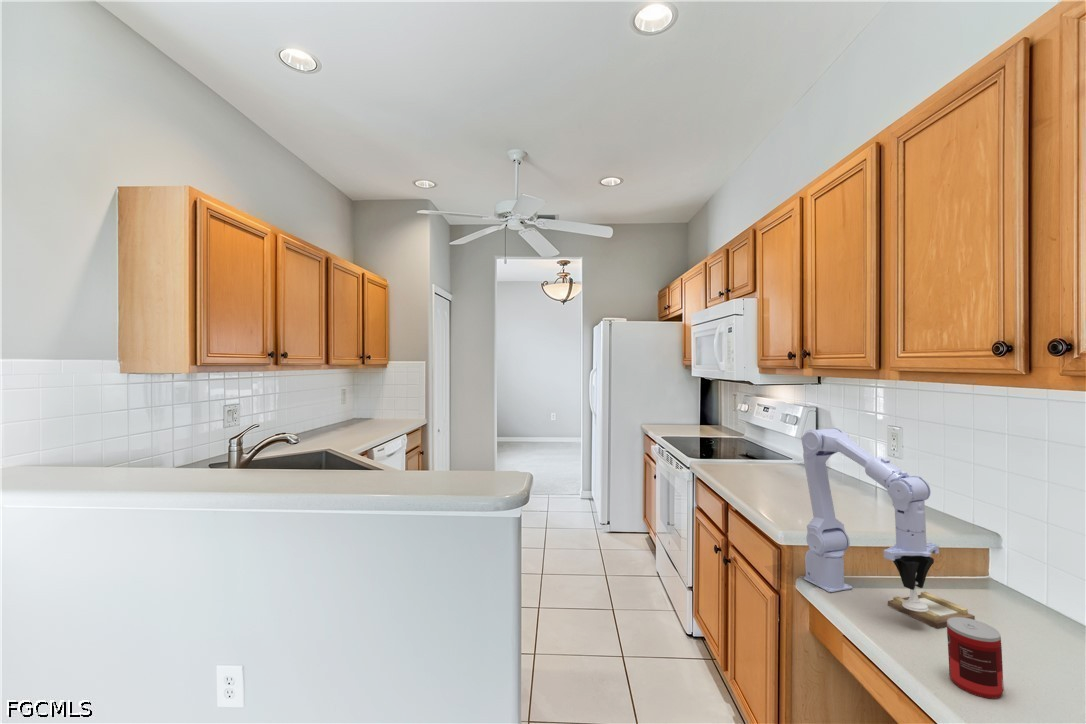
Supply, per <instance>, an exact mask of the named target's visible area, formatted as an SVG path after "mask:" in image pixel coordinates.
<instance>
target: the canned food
mask: <svg viewBox="0 0 1086 724" xmlns="http://www.w3.org/2000/svg"><path fill="white" fill-rule="evenodd" d="M946 636H947V651H948V652H947V654H948V668H949V669H948V670H949V671H948V672H949V673H948V674H949V676H950V678H951V681H952V682H953V683H954V684H955V685H956V686H957V687H958V688H959V689H961V690H963V691H964V692H967V693H969V694H972V695H975V696H978V697H982V698H986V699H999V698H1000V697H1002V695H1003V694H1004V693H1003V692H1005V691H1004V688H1005V687H1004V674H1003V673H1004V672H1003V671H1004V670H1003V648H1002V647H1003V646H1002V638H1001V633H1000V631H999V630H997V628H995V627H993V626H991V625H989V624H988V623H985V622H982V621H979V620H976V619H975V620H973V619H969V618H962V617H953V618H949V619H948V620H947V627H946Z"/></svg>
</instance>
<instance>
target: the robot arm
mask: <svg viewBox="0 0 1086 724" xmlns="http://www.w3.org/2000/svg"><path fill="white" fill-rule="evenodd" d="M800 438H801V443H802V444H801V446H802V450H803V452H802V453H803V454H802V456H803V464H804V470H805V474H806V475H805V476H806V480H807V486H808V490H809V491H808V493H809V497H810V504H811V505H810V506H811V510H812V517H813V518H812V519H811V521H809V523H808V524H807V525H806V529H807V532H806V538H805V539H806V544H807V546H808V547H809V549H808V550H807V551H806V553H805V556H804V562H805V565H804V566H805V576H804V577H803V580H804V581H806V582H809V583H811V584H813V585H815V586H816V587H819V588H821V589H822V590H824V591H826V592H828V593H834V592H840V591H846V590H851V589H853V586H851V585H850V584H848V583H845V568H844V567H845V564H844V563H845V562H844V555H846V550H849V548H850V544H851V543H850V541H851V540H850V537H849V535H848V533H847V531H846V529H845V525H844V524H843V523H842V522H841V521H840V520H838V519H837V517H836V514H835V513H836V512H835V509H834V507H835V506H834V504H833V503H834V502H833V497H832V491H831V485H830V480H829V474H828V470H827V468H828V467H827V464H826V463H827V461H828V460H829V459H830V458H831V457H832V456H833V455H835V454H837V453H840V454H842V455H844V456H845V457H847V458H849V459H850V460H852V461H854V462H856V463H857V464H858V465H860V466H861V467H863V468H864V471H865V474H866V475H867V476H868V477H869V478H871V479H872V481H875V482H876V483H877V484H879V485H880V486H882V487H883V488H884V489H886V491H887V493H888V496H889V497H890V499H891V500H892V501H891V502H892V507H893V508H894V519H895V520H894V522H895V542H896V543H895V544H894V545H893V546H890V547H888V548H887V549H883V558H884V559H886V560H888V561H890V562H893V564H894V566H895V567H896V569H897V571H898V574H899V577H900V579H901V582H902V585H903V587H904V588H907V589H909V590H910V589H911V590H914V588H915V586H916V588H919V589H924V585H925V582H926V577H927V575H928V572H929V570H930V569H931V567H932V565H934V564H935V559H934V558H933V557H931V556H932V554H935V555H937V554H940V545H938V544H935V543H932V542H927V528H926V526H927V525H926V524H927V523H926V504H925V501H927V500H928V499H929V498H930V496H931V487H930V485H929V484H928V482H927V481H926V480H925V479H923V477H921V476H918V475H910V474H908V472H907V471H905V470H902V469H900V468H899V467H898V466H896V465H894V464H893V463H891V460H890V459H889V458H888V457H882V456H878V457H874V456H873V455H872V454H870V453H869V452H868V451H867V450H865V449H864V448H863V447H861V446H860V445H859V444H857V443H856V442H855V441H853V440H852V439H851V438H850V436H849V434H848V433H847V432H844V431H843V430H842V429H840V428H838V427H833V428H824V429H823V428H822V429H808V430H806V431H805V433H804V434H803V435H802V436H801V437H800ZM916 572H917V575H916ZM915 577H916V578H915ZM915 581H917V582H918V584H917V585H915Z"/></svg>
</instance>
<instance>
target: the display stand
mask: <svg viewBox="0 0 1086 724" xmlns="http://www.w3.org/2000/svg"><path fill="white" fill-rule="evenodd" d="M917 595H918V598H919V600H920V602H922V603H925V604H926V605H927V606H928V609H929V610H928V611H925V612H919V611H913V610H909V609H907V608H905V607H903V606H902V601H904V600H908V598H910V596H905V597H901V596H894V597H893V598H892V599H891V600H887V607H890V608H892V609H894V610H897V611H899V612H900V613H901V614H902V613H903V614H905V615H907V616H909V617H912V619H915V620H917V621H920V622H921V621H922V622H921V623H924V624H926V625H927V626H930V627H931V628H932V627H933V628H934V629H936V630H938V629H939V630H940V629H943V628H947V620H948V619H949V618H953V617H962V618H969V619H973V620H976V615H974V614H971V613H969V610H968V608H965V607H963V606H961V605H958V604H956V603H954V602H951V601H949V600H946V599H944V598H941V597H939V596H937V595H935V594H932V593H930V592H927V591H922V592H920V594H917Z"/></svg>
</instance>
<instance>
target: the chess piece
mask: <svg viewBox="0 0 1086 724" xmlns="http://www.w3.org/2000/svg"><path fill="white" fill-rule="evenodd" d="M916 575H917V572H916ZM915 578H916V577H915ZM917 584H918V582H917V581H915V585H917ZM918 595H919V594H918V591H917V586H915V588H914V590H911V589H909V597H910V598H908V600H904V601H902V606H903V607H905V608H907V609H909V610H913V611H919V612H925V611H928V610H929V609H928V606H927V605H926V604H925V603H922V602H920V600H919V598H918Z"/></svg>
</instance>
